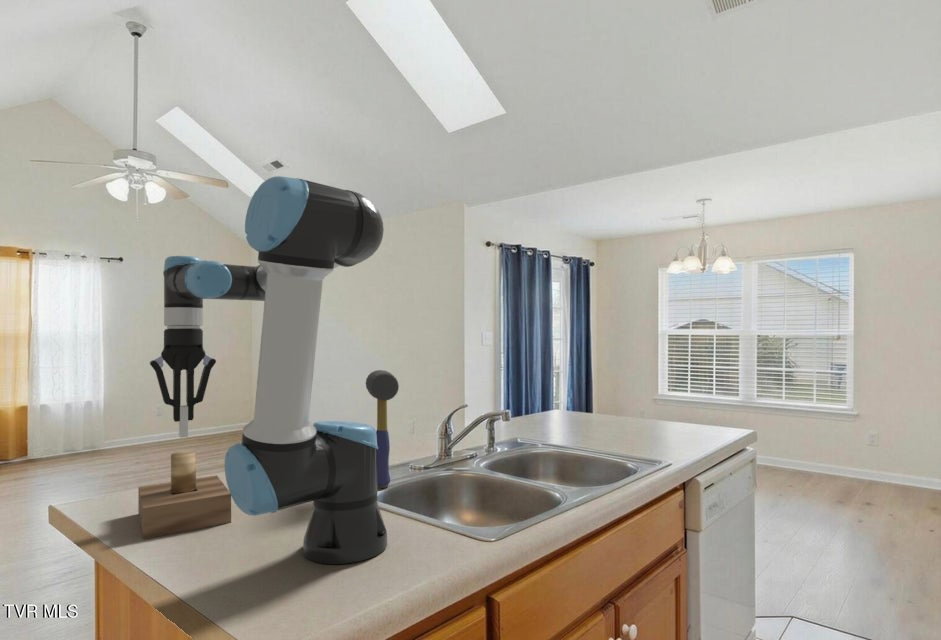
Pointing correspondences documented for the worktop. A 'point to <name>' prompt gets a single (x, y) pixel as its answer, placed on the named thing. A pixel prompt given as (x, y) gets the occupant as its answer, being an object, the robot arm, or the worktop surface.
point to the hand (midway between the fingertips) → (183, 435)
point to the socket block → (183, 507)
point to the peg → (183, 472)
